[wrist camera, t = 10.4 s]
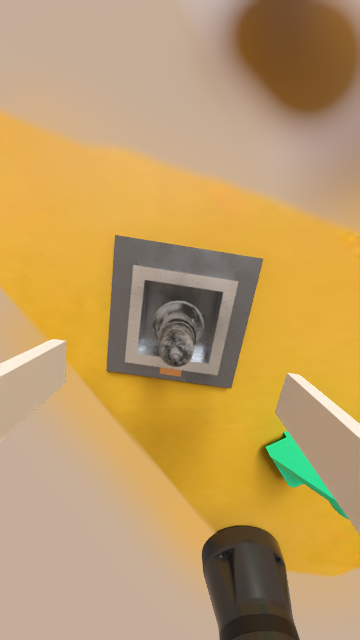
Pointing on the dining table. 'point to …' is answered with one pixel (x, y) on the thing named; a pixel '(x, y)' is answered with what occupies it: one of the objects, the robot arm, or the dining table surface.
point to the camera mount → (299, 469)
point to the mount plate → (185, 284)
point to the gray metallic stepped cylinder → (177, 331)
